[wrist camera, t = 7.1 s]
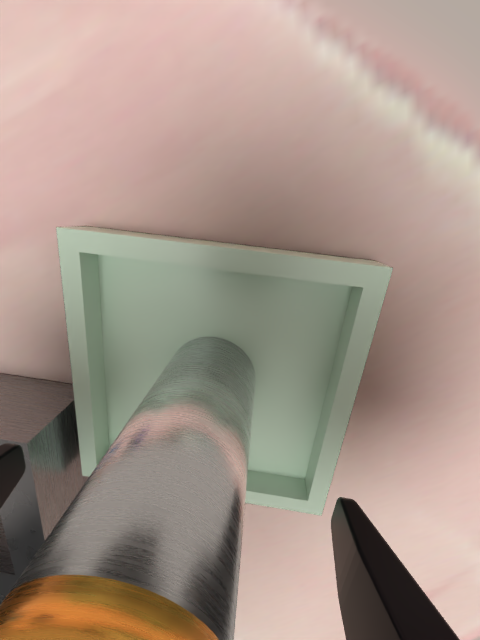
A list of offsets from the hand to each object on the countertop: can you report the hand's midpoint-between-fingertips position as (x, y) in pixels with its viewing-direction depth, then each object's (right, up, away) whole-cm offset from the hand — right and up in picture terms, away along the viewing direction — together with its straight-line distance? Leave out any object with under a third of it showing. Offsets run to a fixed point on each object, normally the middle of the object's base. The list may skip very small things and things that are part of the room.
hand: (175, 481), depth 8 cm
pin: (+1, +2, +5) cm, 6 cm away
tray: (+1, +2, +6) cm, 6 cm away
